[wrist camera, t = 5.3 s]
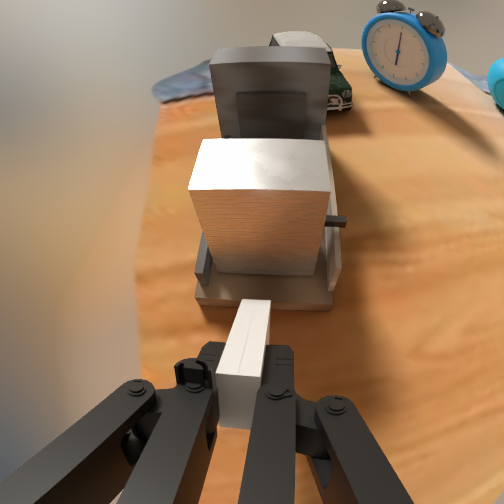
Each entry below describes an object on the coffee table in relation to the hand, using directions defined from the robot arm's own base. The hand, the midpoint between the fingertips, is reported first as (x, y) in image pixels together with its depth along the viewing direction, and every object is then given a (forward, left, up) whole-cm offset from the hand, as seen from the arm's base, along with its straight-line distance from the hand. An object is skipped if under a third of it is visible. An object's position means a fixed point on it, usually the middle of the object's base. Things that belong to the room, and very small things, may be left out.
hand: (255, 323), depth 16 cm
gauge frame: (0, -13, -6) cm, 14 cm away
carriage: (-1, -7, -4) cm, 8 cm away
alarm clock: (-20, -41, -6) cm, 46 cm away
